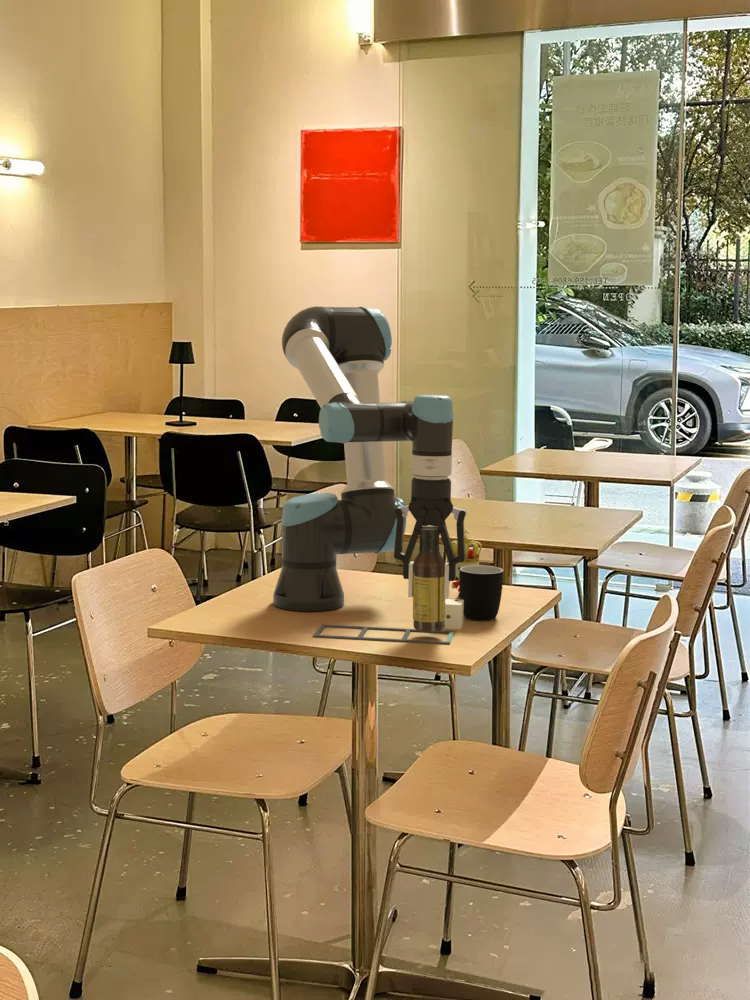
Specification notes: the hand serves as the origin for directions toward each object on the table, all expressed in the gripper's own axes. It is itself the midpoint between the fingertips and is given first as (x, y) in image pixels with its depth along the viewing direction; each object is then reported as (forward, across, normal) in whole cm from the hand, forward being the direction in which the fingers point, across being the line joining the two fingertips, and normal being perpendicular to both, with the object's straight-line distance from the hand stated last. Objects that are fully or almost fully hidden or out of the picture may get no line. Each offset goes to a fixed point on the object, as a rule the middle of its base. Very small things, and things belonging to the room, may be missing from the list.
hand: (428, 596), depth 243 cm
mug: (+8, +8, +20) cm, 23 cm away
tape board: (+8, -8, 0) cm, 12 cm away
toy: (+8, +4, +38) cm, 39 cm away
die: (+8, +3, +10) cm, 13 cm away
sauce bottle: (+7, 0, 0) cm, 7 cm away
